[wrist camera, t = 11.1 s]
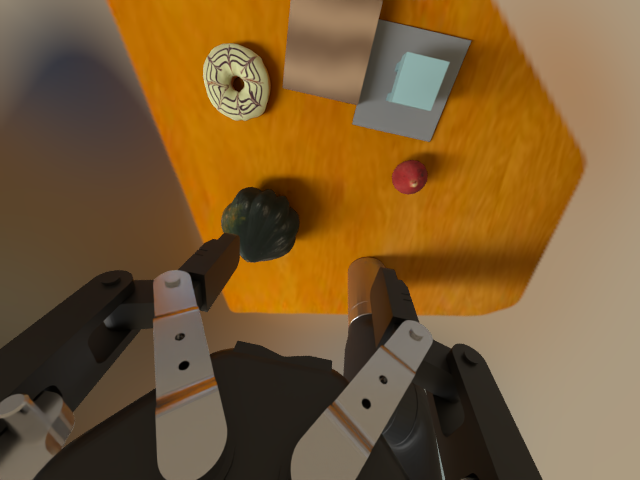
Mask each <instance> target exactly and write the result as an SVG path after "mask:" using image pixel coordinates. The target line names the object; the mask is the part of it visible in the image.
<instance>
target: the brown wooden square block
mask: <svg viewBox="0 0 640 480" xmlns="http://www.w3.org/2000/svg"><path fill="white" fill-rule="evenodd" d="M382 3H383V1H382V0H291V3H290V14H289V24H288V35H287V46H286V57H285V67H284V78H283V88H285V89H289V90H294V91H298V92H302V93H307V94H311V95H315V96H320V97H324V98H329V99H333V100H337V101H342V102H346V103H351V104H355V105H358V102H359V98H360V94H361V90H362V85H363V81H364V77H365V73H366V69H367V65H368V61H369V56H370V52H371V48H372V44H373V40H374V36H375V32H376V28H377V23H378V19H379V15H380V11H381V7H382Z"/></svg>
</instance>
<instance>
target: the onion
mask: <svg viewBox="0 0 640 480" xmlns="http://www.w3.org/2000/svg"><path fill="white" fill-rule="evenodd" d="M392 181H393V185H394V186H395V188H396V189H397V190H398V191H400V192H401V193H404V194H414V193H416V192H418V191H420V190H421V189H422V188H423V187H424V186H425V184H426V182H427V171H426V168H425V166H424V165H423V164H422V163H420V162H419V161H414V160H409V161H405V162H402V163H401V164H399V165H398V166H397V167H396V169H395V170H394V172H393V175H392Z"/></svg>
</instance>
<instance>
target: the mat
mask: <svg viewBox="0 0 640 480" xmlns="http://www.w3.org/2000/svg"><path fill="white" fill-rule="evenodd" d="M470 43H471V41H470V40H466V39H462V38H457V37H453V36H449V35H445V34H440V33H436V32H432V31H427V30H423V29H419V28H415V27H410V26H406V25H402V24H398V23H393V22H389V21H385V20H380V19H378V23H377V28H376V32H375V36H374V40H373V44H372V48H371V52H370V56H369V61H368V65H367V69H366V73H365V77H364V81H363V85H362V90H361V94H360V98H359V102H358V105H357V106H356V110H355V115H354V119H353V123H352V124H353V125H358V126H362V127H366V128H371V129H375V130H380V131H384V132H388V133H393V134H397V135H402V136H406V137H410V138H415V139H419V140H424V141H428V142H430V140H431V138H432V135H433V133H434V130H435V128H436V126H437V123H438V121H439V118H440V116H441V113H442V111H443V108H444V106H445V104H446V101H447V99H448V96H449V94H450V91H451V89H452V87H453V84H454V82H455V79H456V77H457V74H458V72H459V69H460V67H461V65H462V62H463V60H464V57H465V55H466V52H467V50H468V48H469V45H470ZM406 52H410V53H414V54H419V55H423V56H427V57H431V58H435V59H439V60H444V61H448V62H450V63H449V65H448V68H447V71H446V73H445V76H444V78H443V81H442V83H441V86H440V88H439V91H438V93H437V96H436V99H435V101H434V104H433V106H432V109H431V111H426V110H421V109H417V108H412V107H408V106H404V105H400V104H395V103H391V102H389V101H386V98H387V95H388V93H391V92H392V88H393V85H394V82H395V79H396V75H397V72H395V68H396V65H397V63H398V62H400V61H401V59H402V56H403V55H404V54H405V53H406Z"/></svg>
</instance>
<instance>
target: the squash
mask: <svg viewBox="0 0 640 480" xmlns="http://www.w3.org/2000/svg"><path fill="white" fill-rule="evenodd" d="M221 223H222V229H223V232H224V233H225V232H226V233H230V234H235V235H239V236H240V256H241V257H242V258H243V259H244V260H246V261H247V262H259V261H268V260H272V259H276V258H280V257H282V256H284V255H285V254H287V253H288V252H289V251H290V250H291V249H292V247H293V246H294V243H295V236H296V234H297V232H298V229H299V216H298V214H297V212H296V211H295V210H293V209H292V208H291V207H289V202H288V200H287V198H286V197H285V196H278V197H277V196H276V194H275V193H274V191H272V190H269V189H267V190H265V191H263V192H262V191H261V190H259V189H257V188H254V187H248V188H244V189H242V190H241V191H240V192H238V194H237V195H236V197H235V198H234V200H233V202H232V203H231V204H229V205H228V206H227V207H226V208H225V210H224V212H223V215H222V220H221Z"/></svg>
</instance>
